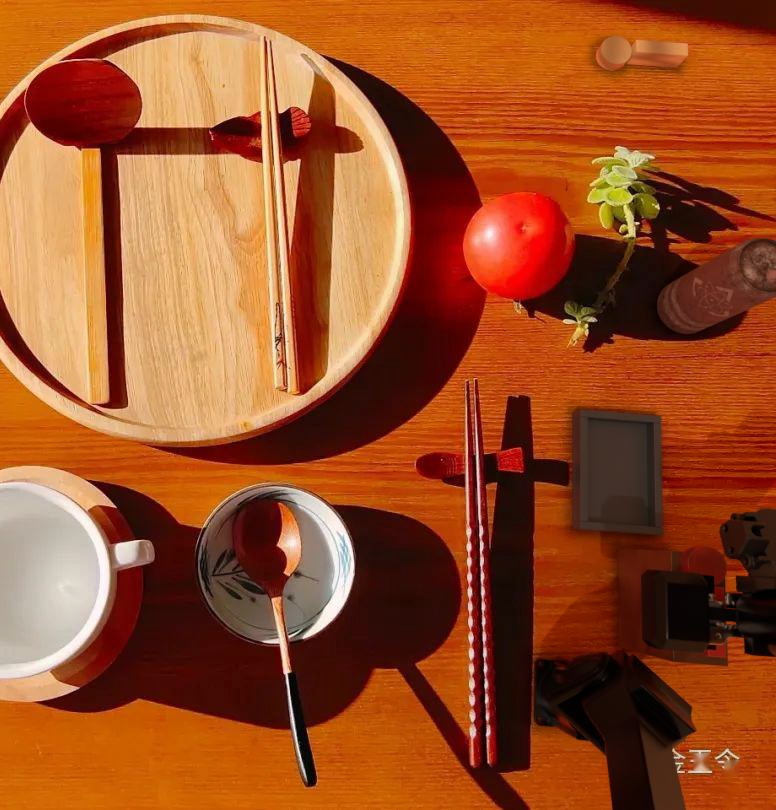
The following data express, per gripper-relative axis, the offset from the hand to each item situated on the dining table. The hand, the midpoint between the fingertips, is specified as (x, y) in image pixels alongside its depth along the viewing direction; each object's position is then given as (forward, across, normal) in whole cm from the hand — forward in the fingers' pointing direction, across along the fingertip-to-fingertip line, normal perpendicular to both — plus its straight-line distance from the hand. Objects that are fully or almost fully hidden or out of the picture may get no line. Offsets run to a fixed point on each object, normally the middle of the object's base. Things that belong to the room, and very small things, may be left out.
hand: (700, 608), depth 70 cm
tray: (+10, +3, -13) cm, 17 cm away
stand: (+10, 0, 0) cm, 10 cm away
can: (+10, -5, -32) cm, 34 cm away
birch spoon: (+10, 0, -63) cm, 63 cm away
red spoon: (0, 0, -1) cm, 1 cm away
